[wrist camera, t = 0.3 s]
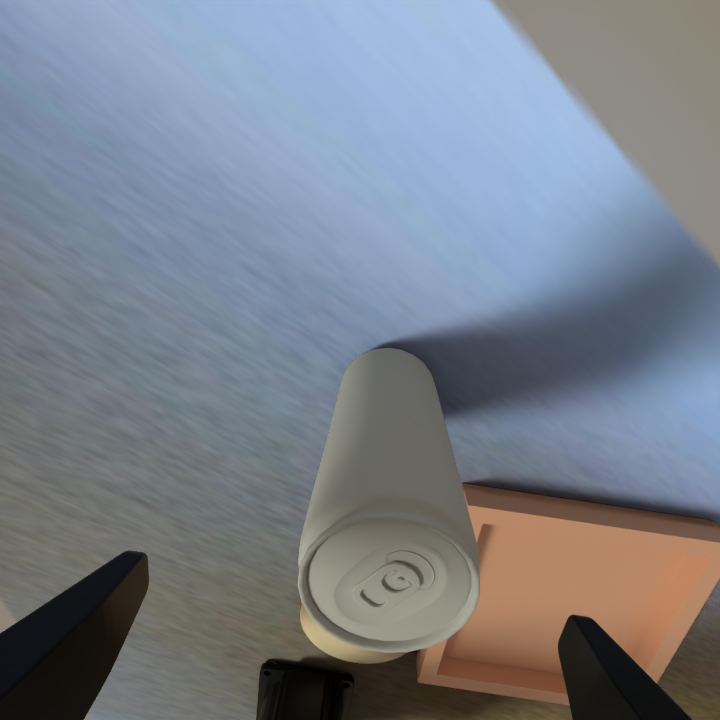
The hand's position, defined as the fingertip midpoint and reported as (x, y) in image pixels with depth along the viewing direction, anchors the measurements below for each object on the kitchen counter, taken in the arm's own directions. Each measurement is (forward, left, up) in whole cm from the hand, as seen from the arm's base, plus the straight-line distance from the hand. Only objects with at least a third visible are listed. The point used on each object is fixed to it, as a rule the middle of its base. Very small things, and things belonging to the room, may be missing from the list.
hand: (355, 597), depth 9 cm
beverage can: (-1, -1, -14) cm, 14 cm away
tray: (-13, -13, -13) cm, 23 cm away
